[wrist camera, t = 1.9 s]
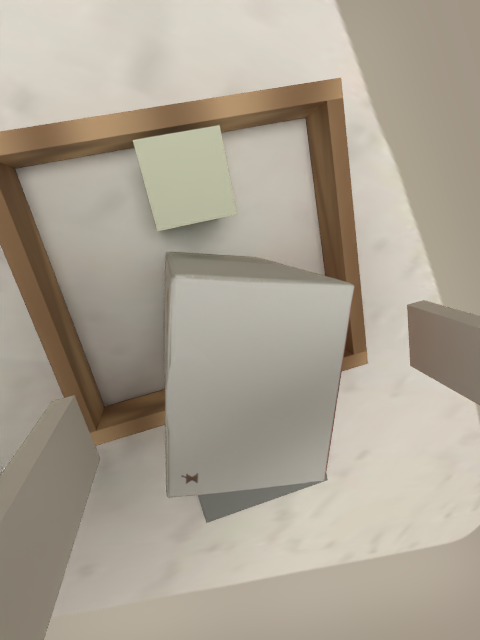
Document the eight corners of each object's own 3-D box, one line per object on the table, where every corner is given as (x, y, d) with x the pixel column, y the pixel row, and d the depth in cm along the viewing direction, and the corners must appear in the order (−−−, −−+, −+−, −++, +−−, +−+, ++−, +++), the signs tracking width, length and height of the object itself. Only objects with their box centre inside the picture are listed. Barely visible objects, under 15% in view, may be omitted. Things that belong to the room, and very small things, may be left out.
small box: (248, 362, 25) (327, 486, 13) (163, 363, 24) (162, 505, 12) (257, 254, 23) (360, 282, 11) (165, 249, 22) (164, 273, 10)
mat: (205, 516, 28) (206, 522, 28) (171, 406, 25) (172, 410, 24) (324, 475, 30) (327, 480, 29) (307, 366, 26) (310, 369, 26)
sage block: (159, 230, 22) (157, 231, 16) (141, 165, 20) (132, 140, 15) (218, 218, 22) (237, 214, 16) (204, 153, 21) (219, 125, 15)
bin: (95, 422, 24) (85, 448, 21) (-12, 152, 18) (-44, 138, 16) (346, 349, 27) (367, 363, 24) (317, 97, 21) (341, 77, 19)
